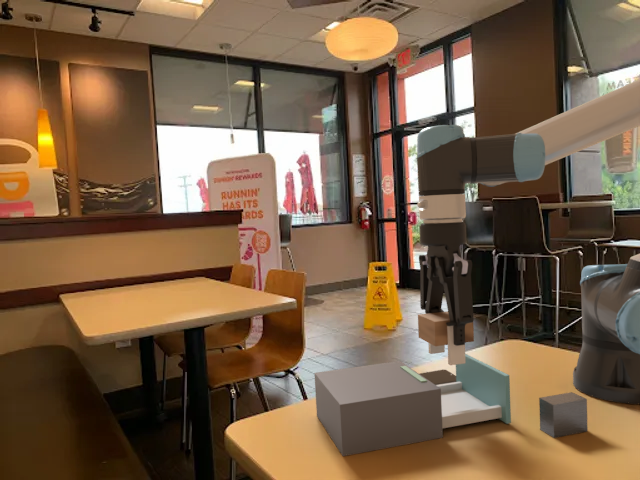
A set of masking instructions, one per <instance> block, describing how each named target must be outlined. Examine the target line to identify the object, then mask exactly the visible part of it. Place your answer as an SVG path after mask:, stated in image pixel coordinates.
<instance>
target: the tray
mask: <svg viewBox="0 0 640 480" xmlns="http://www.w3.org/2000/svg"><path fill="white" fill-rule="evenodd" d="M455 375H456V382H453V383H446V384H440V385H436V386H438V387H439V388H441V405H442V429H446V428H452V427H458V426H464V425H469V424H474V423H479V422H480V423H482V422H484V421H485V422H486V421H489V420H490V421H491V420H496V419H497V420H500V421H502V422H503V423H505V424H511V423H512V418H511V417H512V415H511V414H512V413H511V387H510V383H511V382H510V375H509V374H507V373H506V372H504V371H501V370H500V369H497V368H496V367H493V366H491V365H489V364H488V363H485V362H483V361H481V360H479V359H477V358H475V357H473V356H471V355H469V354H468V353H465V363H464V364H457V365H455Z"/></svg>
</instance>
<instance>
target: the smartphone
mask: <svg viewBox="0 0 640 480" xmlns="http://www.w3.org/2000/svg"><path fill="white" fill-rule="evenodd" d="M419 374H420V375H421V376H423V377H424V378H426V379H427V380H429V381H430V382H432V383H433V384H435V385H440V384H446V383H453V382H456V374H454V373H452V372H450V371H449V370H447V369H438V370H434V371H432V370H431V371H426V372H421V373H419Z"/></svg>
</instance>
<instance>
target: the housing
mask: <svg viewBox="0 0 640 480" xmlns="http://www.w3.org/2000/svg"><path fill="white" fill-rule="evenodd" d="M314 385H315V386H314V387H315V388H314V389H315V390H314V391H315V404H316V408H315V409H316V417H317V419H318V420H319V421H320V423H321V425H322V427H324V429H325V431H326V433H327V434H328V436H329V437H330V439H331V440H332V442H333V444H334V445H335V446H336V448H337V449H338V451H339V452H340V455H341V456H342V457H346V456H352V455H356V454H361V453H366V452H367V453H368V452H372V451H378V450H384V449H389V448H394V447H400V446H405V445H409V444H414V443H420V442H425V441H432V440H437V439H441V438H442V439H443V436H444V434H443V430H444V429H443V428H442V405H441V388H439V387H438V386H436V385H435V384H433V383H432V382H430V381H429V380H427V379H426V378H424V377H423V376H421V375H420V373H419V372H417V371H415V370H414V369H413V368H411V367H410V366H408V365H407V364H405V363H404V362H403V361H401V360H397V361H390V362H382V363H375V364H369V365H361V366H354V367H347V368H339V369H338V368H337V369H333V370H326V371H325V370H324V371H317V372H314Z"/></svg>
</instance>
